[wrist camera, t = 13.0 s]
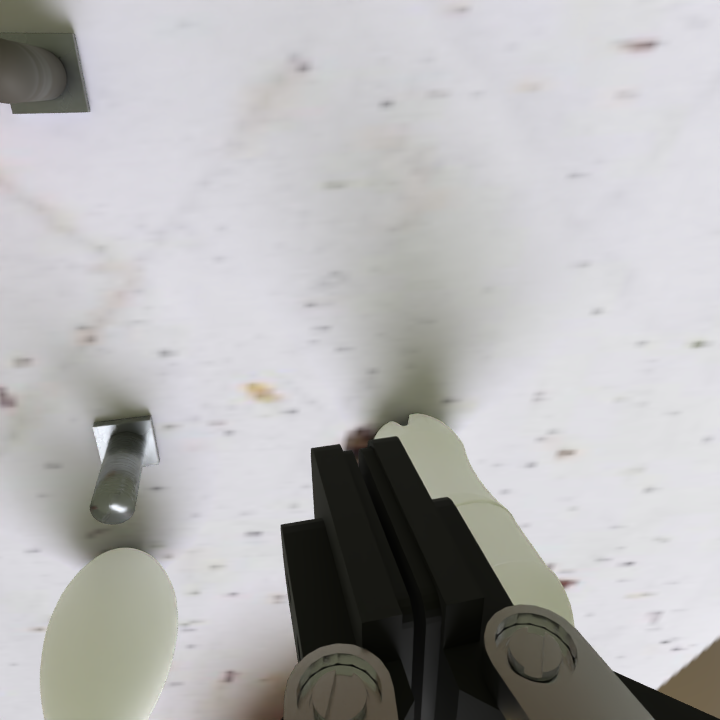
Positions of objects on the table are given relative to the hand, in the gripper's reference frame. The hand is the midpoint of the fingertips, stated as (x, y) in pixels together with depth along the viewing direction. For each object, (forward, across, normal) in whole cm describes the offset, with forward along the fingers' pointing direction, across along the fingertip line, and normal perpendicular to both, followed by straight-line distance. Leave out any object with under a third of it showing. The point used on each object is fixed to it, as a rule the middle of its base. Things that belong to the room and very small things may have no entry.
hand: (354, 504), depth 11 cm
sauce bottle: (+27, +12, +25) cm, 39 cm away
